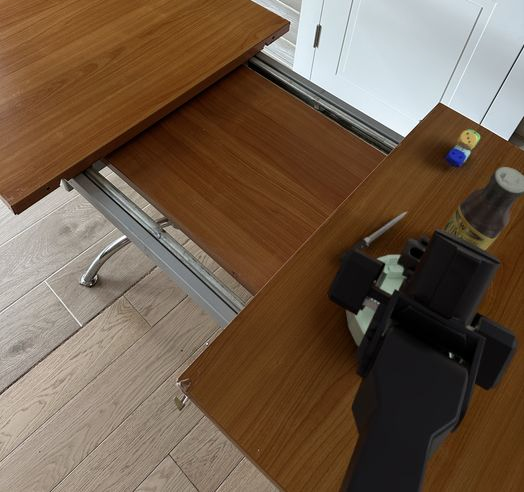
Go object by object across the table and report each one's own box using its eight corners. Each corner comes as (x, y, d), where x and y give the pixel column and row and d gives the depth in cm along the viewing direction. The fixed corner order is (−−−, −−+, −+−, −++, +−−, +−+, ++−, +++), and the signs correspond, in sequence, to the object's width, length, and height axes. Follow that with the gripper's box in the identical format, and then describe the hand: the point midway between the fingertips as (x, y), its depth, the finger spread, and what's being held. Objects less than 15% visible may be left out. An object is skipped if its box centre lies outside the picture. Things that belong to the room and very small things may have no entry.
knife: (403, 215, 83) (407, 208, 81) (406, 218, 82) (410, 211, 81) (337, 262, 76) (339, 256, 75) (340, 266, 76) (343, 259, 74)
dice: (454, 175, 89) (468, 151, 84) (440, 167, 90) (453, 142, 85) (473, 150, 94) (487, 125, 89) (460, 142, 95) (473, 118, 90)
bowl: (478, 332, 71) (491, 318, 67) (405, 404, 64) (416, 392, 60) (396, 251, 78) (404, 236, 75) (322, 308, 71) (328, 293, 68)
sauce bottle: (422, 246, 79) (471, 164, 64) (454, 232, 81) (508, 150, 66) (449, 282, 75) (507, 204, 60) (482, 267, 77) (545, 188, 63)
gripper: (560, 314, 44) (528, 275, 59) (360, 212, 49) (377, 200, 64) (500, 425, 45) (483, 359, 60) (311, 313, 51) (338, 279, 65)
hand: (419, 295), depth 62 cm, fingers open, 9 cm apart
